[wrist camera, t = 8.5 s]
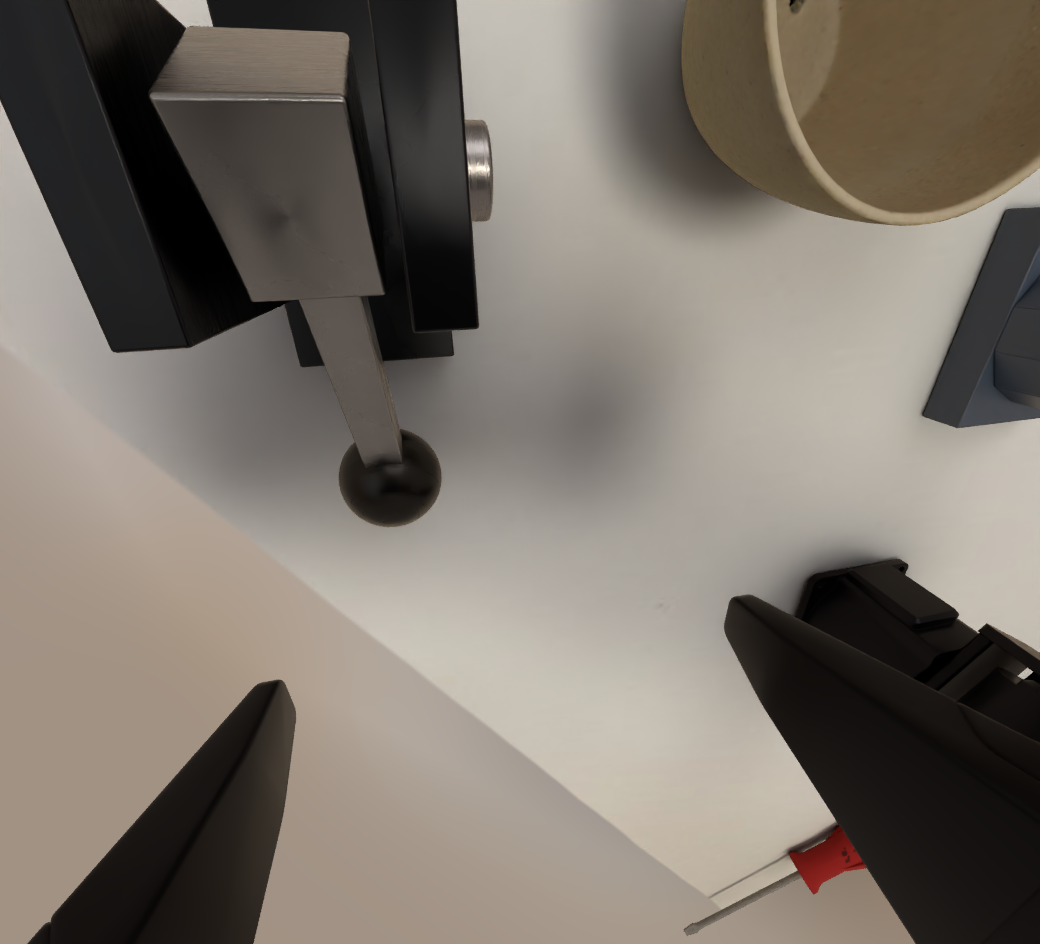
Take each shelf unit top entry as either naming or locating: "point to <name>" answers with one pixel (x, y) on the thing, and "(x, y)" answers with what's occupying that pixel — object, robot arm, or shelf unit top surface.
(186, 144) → the switch lever
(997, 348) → the button block
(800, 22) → the bowl
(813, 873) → the screwdriver
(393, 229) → the switch bracket
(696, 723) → the shelf unit top surface
